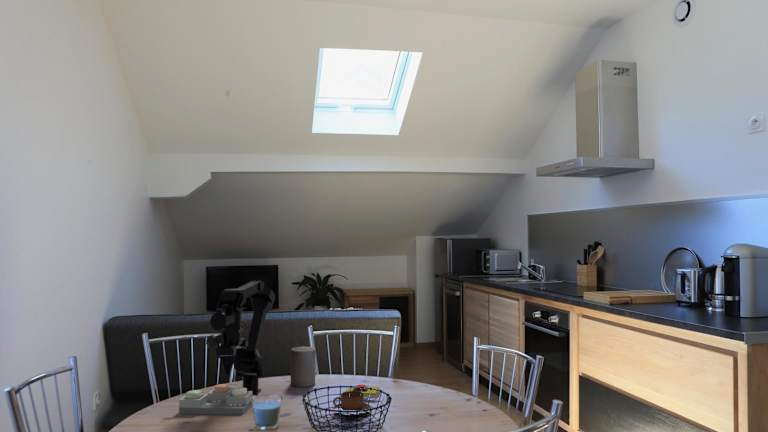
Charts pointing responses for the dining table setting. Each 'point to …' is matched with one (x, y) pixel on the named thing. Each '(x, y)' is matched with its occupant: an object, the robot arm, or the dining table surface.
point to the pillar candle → (302, 366)
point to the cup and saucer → (351, 401)
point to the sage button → (194, 394)
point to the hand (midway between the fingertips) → (231, 371)
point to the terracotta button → (221, 388)
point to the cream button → (239, 391)
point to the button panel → (216, 403)
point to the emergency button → (366, 391)
